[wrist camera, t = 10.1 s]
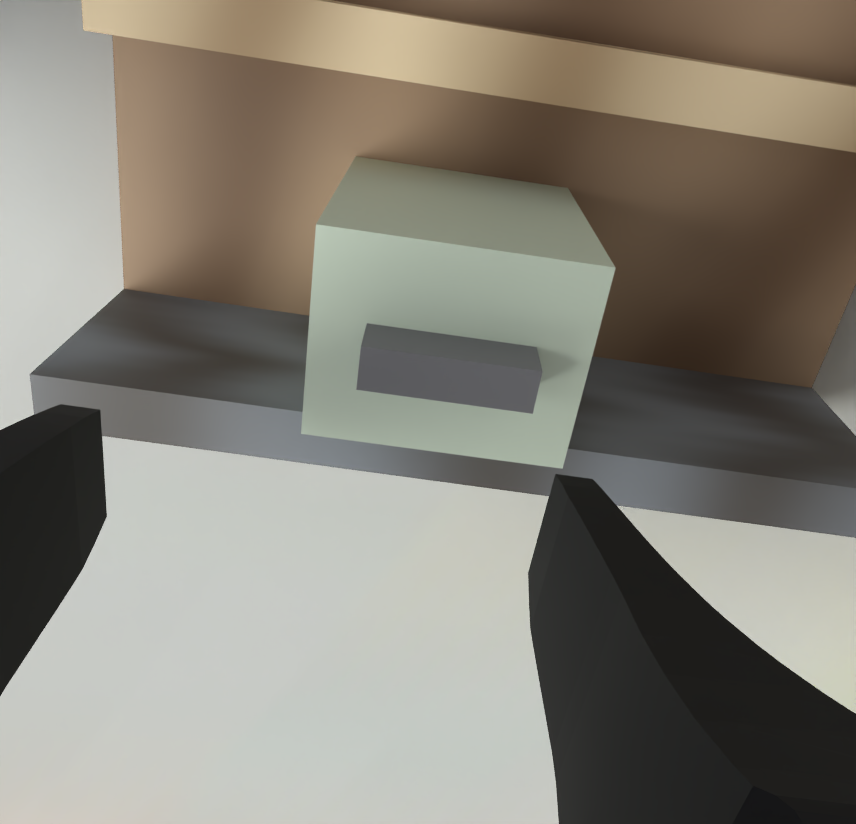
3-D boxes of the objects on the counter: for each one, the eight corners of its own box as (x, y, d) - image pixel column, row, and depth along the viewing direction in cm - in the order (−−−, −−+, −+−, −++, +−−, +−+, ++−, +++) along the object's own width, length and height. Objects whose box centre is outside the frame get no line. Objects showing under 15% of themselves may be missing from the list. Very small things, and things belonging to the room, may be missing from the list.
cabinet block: (340, 317, 20) (291, 462, 14) (355, 156, 18) (305, 241, 12) (533, 343, 20) (569, 499, 14) (568, 188, 18) (627, 288, 12)
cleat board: (139, 318, 21) (35, 426, 16) (114, -378, 14) (-80, -590, 9) (781, 409, 22) (886, 541, 17) (1036, -210, 15) (1344, -317, 10)
